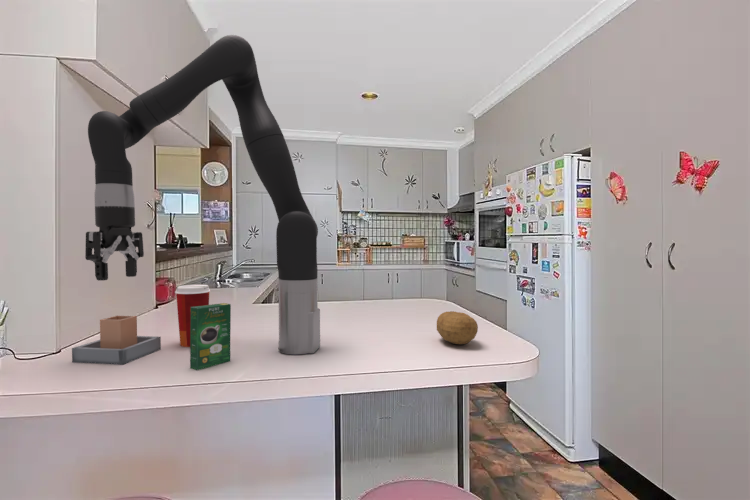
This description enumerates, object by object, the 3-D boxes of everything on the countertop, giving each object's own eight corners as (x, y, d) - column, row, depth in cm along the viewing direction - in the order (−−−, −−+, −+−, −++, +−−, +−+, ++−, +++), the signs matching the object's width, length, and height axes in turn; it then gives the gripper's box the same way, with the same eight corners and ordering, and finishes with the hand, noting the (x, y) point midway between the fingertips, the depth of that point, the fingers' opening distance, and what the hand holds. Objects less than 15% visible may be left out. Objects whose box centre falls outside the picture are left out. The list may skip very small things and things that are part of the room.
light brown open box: (137, 350, 95) (136, 316, 95) (121, 356, 90) (120, 320, 90) (117, 349, 96) (117, 315, 95) (100, 355, 91) (99, 319, 90)
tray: (160, 351, 98) (160, 336, 98) (123, 367, 86) (122, 350, 86) (115, 349, 99) (115, 334, 99) (72, 364, 88) (71, 348, 87)
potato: (459, 335, 114) (460, 306, 114) (486, 348, 100) (487, 316, 100) (427, 337, 111) (427, 308, 111) (450, 351, 98) (450, 318, 98)
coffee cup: (217, 341, 107) (216, 284, 106) (200, 350, 98) (200, 288, 98) (186, 341, 107) (185, 283, 107) (167, 349, 99) (166, 287, 99)
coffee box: (224, 360, 91) (223, 301, 90) (232, 363, 89) (231, 302, 88) (189, 370, 84) (188, 306, 84) (197, 373, 82) (196, 308, 82)
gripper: (105, 202, 84) (107, 282, 84) (152, 207, 98) (154, 275, 99) (72, 203, 85) (75, 281, 85) (123, 208, 99) (125, 275, 100)
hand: (117, 278), depth 92 cm, fingers open, 8 cm apart
